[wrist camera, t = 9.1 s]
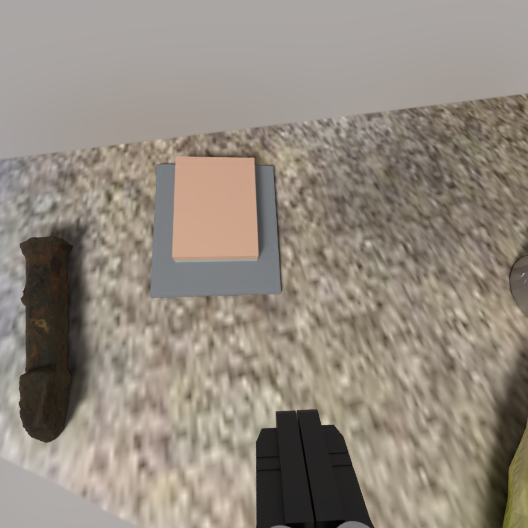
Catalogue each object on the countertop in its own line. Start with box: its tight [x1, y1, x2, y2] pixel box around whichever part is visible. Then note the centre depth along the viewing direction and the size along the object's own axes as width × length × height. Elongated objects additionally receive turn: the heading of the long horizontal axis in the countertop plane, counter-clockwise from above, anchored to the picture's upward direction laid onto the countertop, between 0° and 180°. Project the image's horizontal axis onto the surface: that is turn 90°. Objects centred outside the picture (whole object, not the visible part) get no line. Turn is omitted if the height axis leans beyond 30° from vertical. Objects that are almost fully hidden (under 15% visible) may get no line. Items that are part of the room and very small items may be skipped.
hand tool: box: [19, 237, 73, 443], centre depth 29 cm, size 19×4×5 cm, turn 8°
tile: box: [172, 156, 259, 262], centre depth 35 cm, size 9×2×12 cm
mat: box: [150, 164, 281, 298], centre depth 35 cm, size 14×16×1 cm
